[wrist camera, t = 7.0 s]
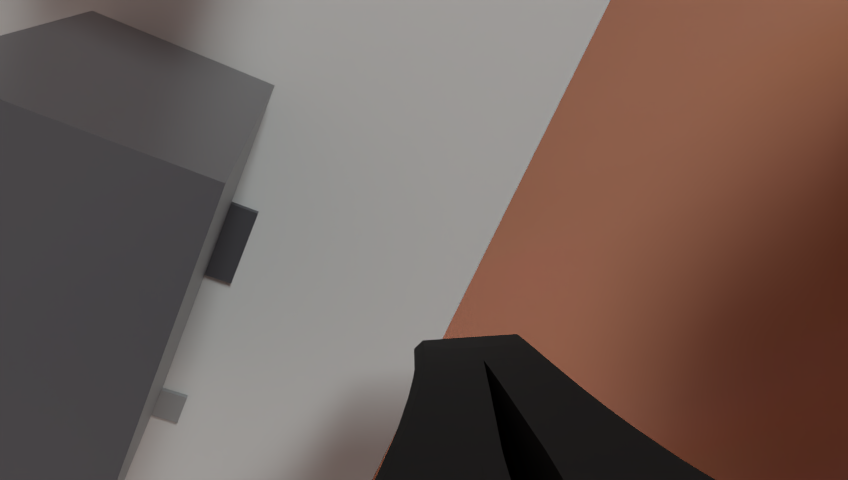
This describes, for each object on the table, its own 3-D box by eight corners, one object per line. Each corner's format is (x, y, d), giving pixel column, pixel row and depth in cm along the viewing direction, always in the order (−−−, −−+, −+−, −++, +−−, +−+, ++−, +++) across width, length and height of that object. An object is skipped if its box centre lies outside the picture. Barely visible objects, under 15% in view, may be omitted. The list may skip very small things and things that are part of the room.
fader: (274, 85, 10) (225, 183, 6) (162, 388, 12) (61, 632, 7) (91, 10, 10) (-98, 61, 5) (-1, 339, 11) (-206, 572, 7)
